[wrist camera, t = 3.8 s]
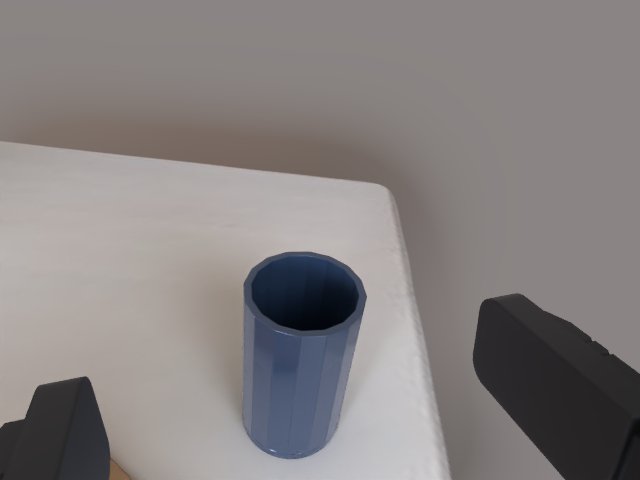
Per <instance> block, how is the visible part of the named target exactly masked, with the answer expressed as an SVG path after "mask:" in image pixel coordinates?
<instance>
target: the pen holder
mask: <svg viewBox="0 0 640 480" xmlns="http://www.w3.org/2000/svg"><path fill="white" fill-rule="evenodd" d="M366 298H367V296H366V293H365V290H364V287H363V284H362V281H361V279H360V278H359V277H358V276H357V275H356V274H355V273H354V272H353V271H352V270H351V268H350V267H348V266H347V265H345V264H343V263H341V262H340V261H338V260H336V259H334V258H332V257H330V256H326V255H322V254H317V253H313V252H285V253H282V254H278V255H275V256H272V257H268V258H266V259H265V260H264V261H262V262H261V263H259V264H258V265H256V266H255V267H254V268H252V270H251V271H250V273H249V275H248V277H247V278H246V280H245V282H244V284H243V422H244V426H245V429H246V432H247V434H248V435H249V437H250V439H251V440H252V441H253V442H254V443H255V444H256V445H257V446H258V447H259V448H260V449H262V450H263V451H264V452H266V453H268V454H270V455H273V456H276V457H280V458H285V459H297V458H303V457H307V456H310V455H312V454H314V453H316V452H318V451H319V450H321V449H322V448H323V447H324V446H326V444H327V443H328V442H329V441H330V440H331V438H332V437H333V435H334V433H335V431H336V428H337V424H338V420H339V416H340V411H341V407H342V403H343V398H344V394H345V390H346V385H347V381H348V377H349V372H350V368H351V364H352V359H353V355H354V351H355V346H356V342H357V338H358V333H359V329H360V324H361V320H362V316H363V311H364V307H365V303H366Z"/></svg>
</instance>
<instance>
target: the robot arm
mask: <svg viewBox="0 0 640 480" xmlns="http://www.w3.org/2000/svg"><path fill="white" fill-rule="evenodd" d="M473 364H474V368H475V372H476V374H477V376H478V378H479V380H480V382H481V383H482V384H483V386H484V387H485V388H486V389H487V390H488V391H489V392H490V393H491V394H492V396H493V397H494V398H495V399H496V401H497V402H498V403H499V404H500V405H501V406H502V407H503V409H504V410H505V411H506V412H507V413H508V414H509V415H510V417H511V418H512V419H513V420H514V421H515V422H516V423H517V425H518V426H519V427H520V428H521V429H522V430H523V432H524V433H525V434H526V435H527V436H528V437H529V439H530V440H531V441H532V442H533V443H534V444H535V445H536V447H537V448H538V449H539V450H540V451H541V452H542V453H543V455H544V456H545V457H546V458H547V459H548V460H549V462H550V463H551V464H552V465H553V466H554V467H555V469H556V470H557V471H558V472H559V473H560V474H561V475H562V477H563V478H564V479H565V480H640V374H639V373H638V372H636V371H635V370H634V369H632V368H631V367H630V366H628V365H627V364H626V363H624V362H623V361H622V360H620V359H619V358H617V357H616V356H615V355H614V354H611V355H610V354H609V352H608V350H607V349H606V348H604V347H603V346H602V345H600V344H599V343H597V342H596V341H592V340H591V337H589V336H588V335H587V334H585V333H584V332H583V331H581V330H580V329H579V328H577V327H576V326H574V325H573V324H572V323H571V322H568V321H566V320H564V319H562V318H559V317H557V316H555V315H553V314H551V313H548V312H546V311H543V310H542V309H541V308H539V307H538V306H537V305H535V304H534V303H533V302H531V301H530V300H529V299H528V298H526V297H525V296H523V295H521V294H510V295H505V296H500V297H495V298H490V299H486V300H484V301H483V302H482V304H481V306H480V311H479V318H478V325H477V331H476V339H475V344H474V351H473ZM109 476H110V449H109V442H108V438H107V434H106V431H105V428H104V424H103V421H102V418H101V414H100V411H99V408H98V404H97V401H96V398H95V394H94V391H93V388H92V385H91V382H90V380H89V378H88V377H86V376H84V377H79V378H74V379H69V380H64V381H59V382H54V383H48V384H43V385H39V386H38V387H37V389H36V390H35V393H34V395H33V398H32V401H31V403H30V406H29V409H28V411H27V414H26V417H25V419H23V420H18V421H13V422H9V423H5V424H4V425H3V426H2V427H1V428H0V480H109Z"/></svg>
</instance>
